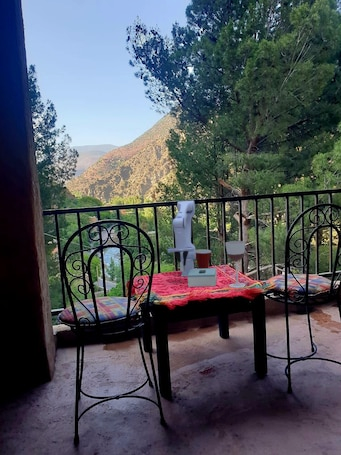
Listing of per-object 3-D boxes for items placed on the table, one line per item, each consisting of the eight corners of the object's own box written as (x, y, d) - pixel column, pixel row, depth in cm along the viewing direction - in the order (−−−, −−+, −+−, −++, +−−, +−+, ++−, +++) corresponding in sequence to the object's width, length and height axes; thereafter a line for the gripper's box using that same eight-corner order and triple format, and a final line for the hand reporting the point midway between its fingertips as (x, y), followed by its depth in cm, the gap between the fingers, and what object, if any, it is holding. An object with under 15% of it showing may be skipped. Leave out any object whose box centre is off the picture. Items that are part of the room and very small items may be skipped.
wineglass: (230, 282, 188) (228, 240, 185) (249, 283, 183) (246, 240, 181) (225, 287, 180) (223, 243, 177) (244, 288, 176) (242, 243, 173)
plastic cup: (211, 271, 214) (210, 251, 213) (193, 272, 216) (192, 252, 215) (213, 267, 225) (212, 248, 223) (196, 267, 227) (194, 249, 225)
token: (181, 269, 197) (181, 260, 196) (185, 269, 196) (184, 260, 196) (180, 271, 192) (179, 262, 191) (183, 271, 192) (183, 262, 191)
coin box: (191, 279, 199) (190, 269, 199) (216, 278, 197) (216, 268, 196) (188, 286, 186) (187, 275, 185) (215, 286, 183) (214, 274, 182)
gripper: (165, 242, 190) (167, 267, 191) (193, 240, 187) (194, 266, 189) (168, 240, 197) (170, 264, 198) (194, 238, 194) (196, 263, 195)
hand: (182, 265), depth 194 cm, fingers closed on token, 2 cm apart
